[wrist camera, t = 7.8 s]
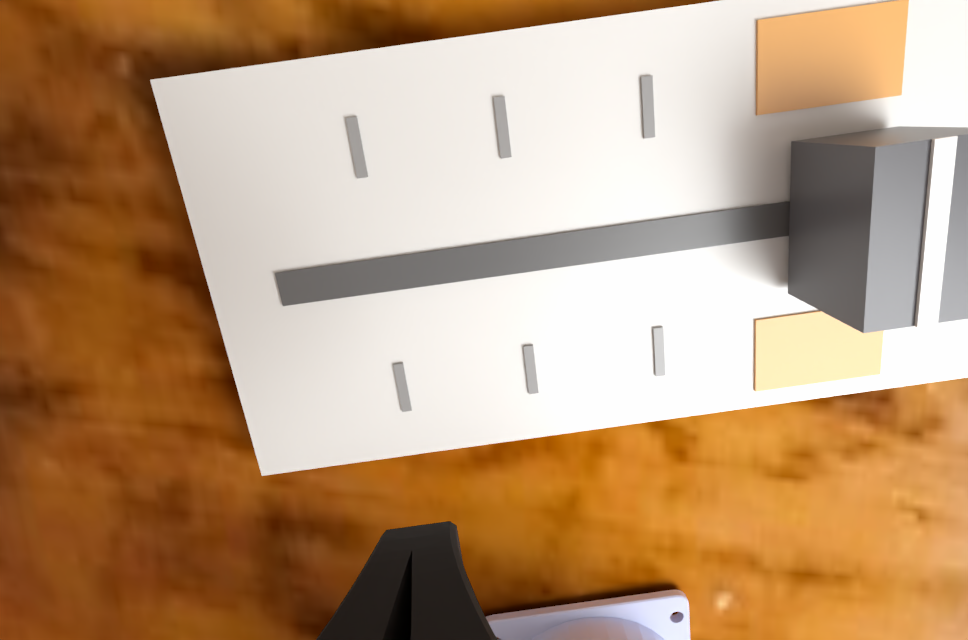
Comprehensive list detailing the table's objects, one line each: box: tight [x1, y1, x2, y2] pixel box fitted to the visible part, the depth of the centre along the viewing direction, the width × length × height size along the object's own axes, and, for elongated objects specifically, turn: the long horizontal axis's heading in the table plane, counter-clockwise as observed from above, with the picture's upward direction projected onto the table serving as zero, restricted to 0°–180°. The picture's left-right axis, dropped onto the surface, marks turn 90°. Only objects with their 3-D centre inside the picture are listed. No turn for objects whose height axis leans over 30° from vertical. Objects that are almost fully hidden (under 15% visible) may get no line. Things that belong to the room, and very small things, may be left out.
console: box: [150, 0, 968, 476], centre depth 19 cm, size 12×26×2 cm, turn 98°
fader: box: [788, 126, 968, 333], centre depth 16 cm, size 4×3×4 cm
